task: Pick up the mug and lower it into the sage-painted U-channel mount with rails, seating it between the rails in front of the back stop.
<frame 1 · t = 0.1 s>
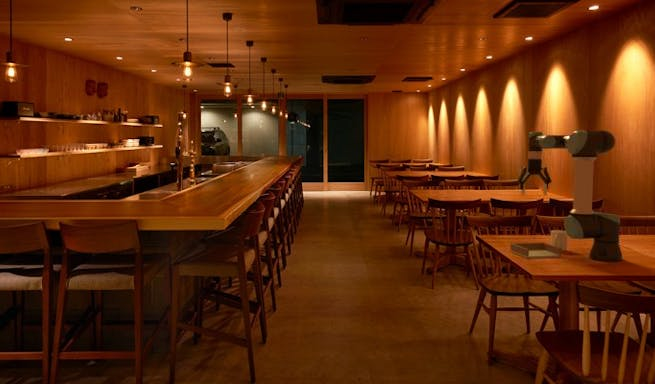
hand: (533, 195, 336), 28 cm above the table, fingers open, 13 cm apart
mug: (557, 250, 314), on the table
mount: (535, 254, 304), on the table
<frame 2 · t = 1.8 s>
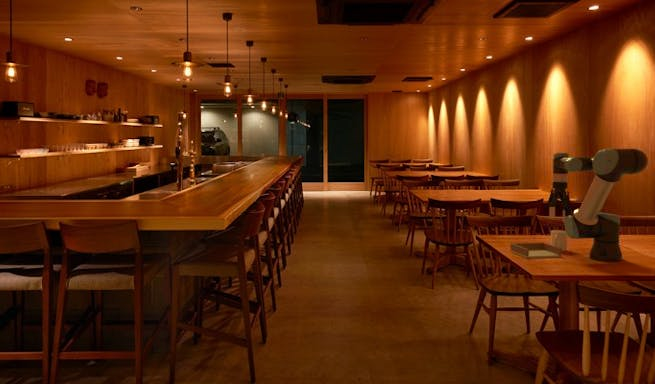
hand: (558, 220, 313), 16 cm above the table, fingers open, 13 cm apart
nothing on the table moved.
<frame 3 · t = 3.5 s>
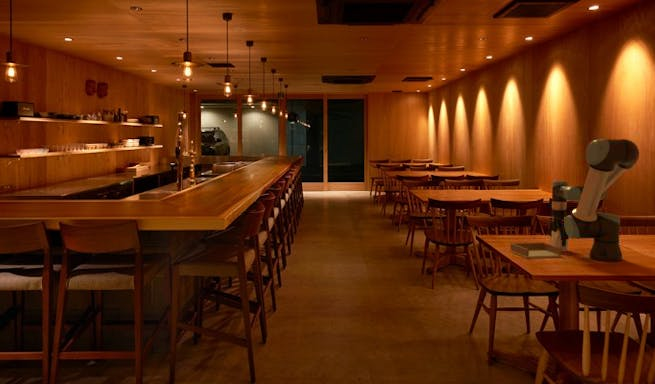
hand: (557, 249, 314), 0 cm above the table, fingers closed on mug, 9 cm apart
mug: (558, 251, 313), on the table, touching gripper
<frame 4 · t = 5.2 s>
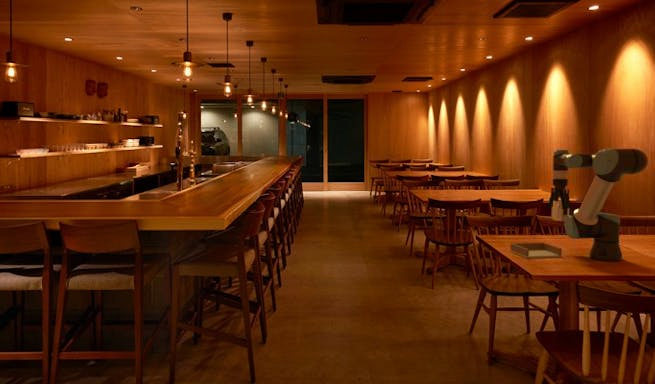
hand: (559, 219, 312), 17 cm above the table, fingers closed on mug, 9 cm apart
mug: (559, 220, 312), point 16 cm above the table, touching gripper
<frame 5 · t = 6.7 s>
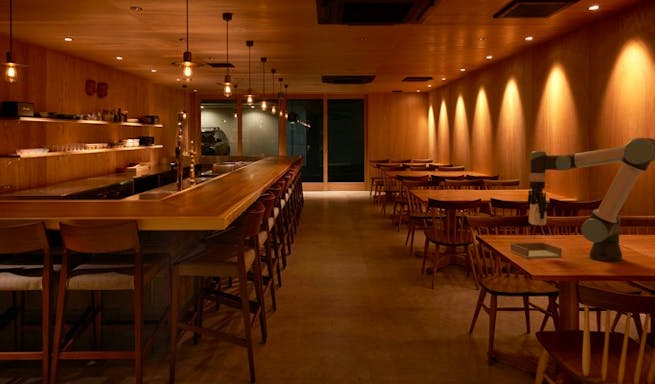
hand: (536, 223, 302), 16 cm above the table, fingers closed on mug, 9 cm apart
mug: (536, 224, 301), point 16 cm above the table, touching gripper
when the fingers open (3 cm above the table, at t = 9.1 s): mug drops 2 cm, resting on mount.
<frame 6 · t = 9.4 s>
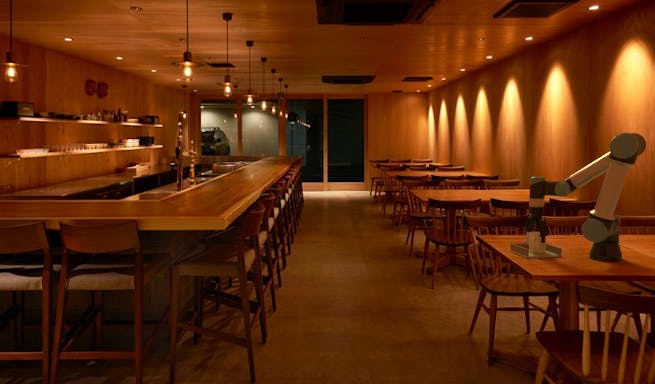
hand: (535, 246, 303), 4 cm above the table, fingers open, 13 cm apart
mug: (535, 253, 303), point 1 cm above the table, touching mount
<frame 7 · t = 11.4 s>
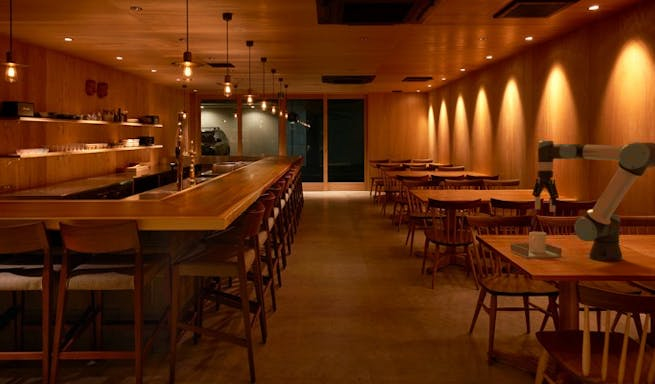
hand: (544, 210, 305), 23 cm above the table, fingers open, 13 cm apart
nothing on the table moved.
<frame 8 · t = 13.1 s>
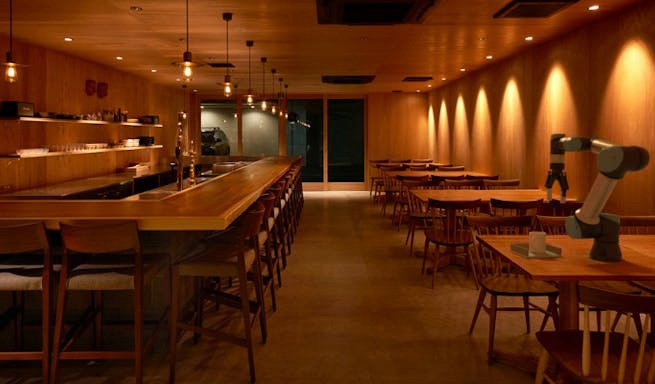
hand: (556, 201, 311), 27 cm above the table, fingers open, 13 cm apart
nothing on the table moved.
at the end: mug inside the target area on the mount (0.7 cm from its centre), point 0.8 cm above the mount's base; mug tilted 0°; the gripper is holding nothing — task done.
